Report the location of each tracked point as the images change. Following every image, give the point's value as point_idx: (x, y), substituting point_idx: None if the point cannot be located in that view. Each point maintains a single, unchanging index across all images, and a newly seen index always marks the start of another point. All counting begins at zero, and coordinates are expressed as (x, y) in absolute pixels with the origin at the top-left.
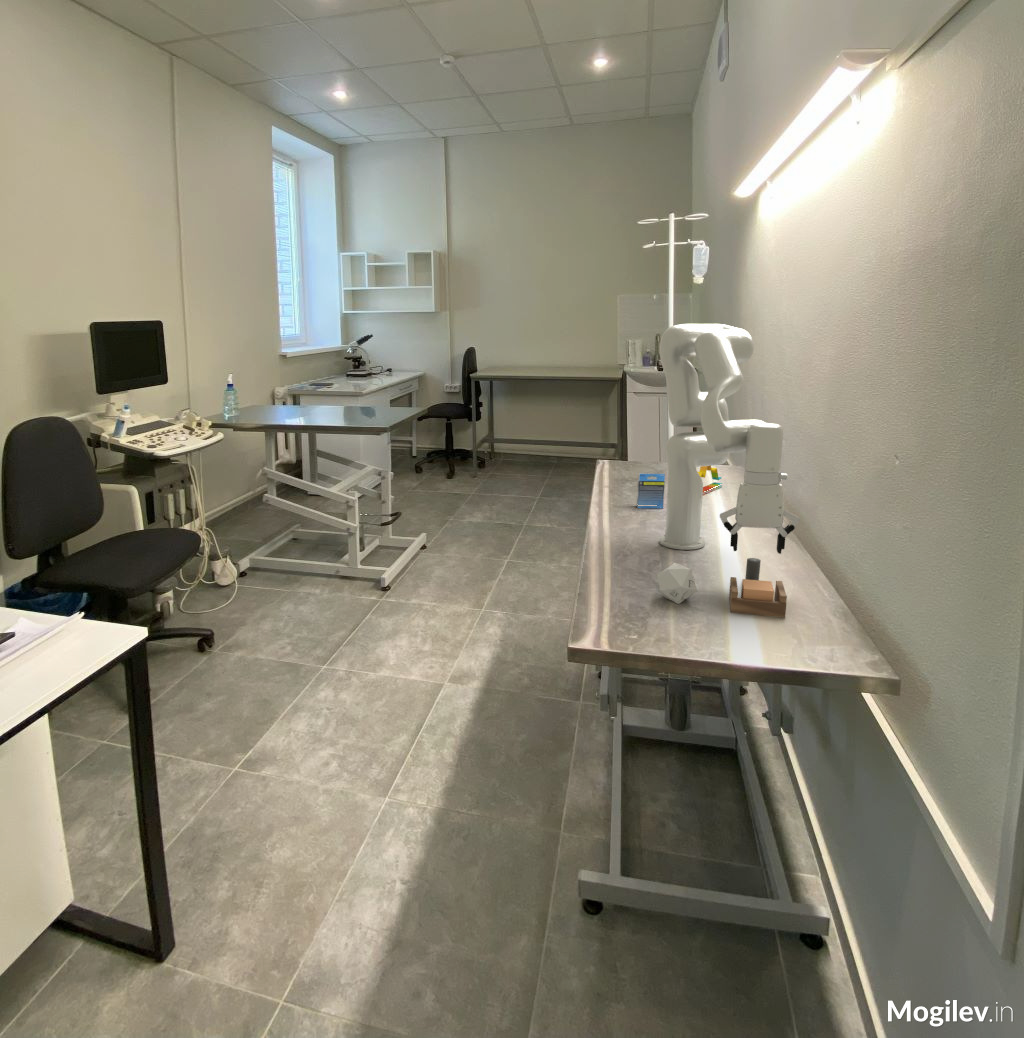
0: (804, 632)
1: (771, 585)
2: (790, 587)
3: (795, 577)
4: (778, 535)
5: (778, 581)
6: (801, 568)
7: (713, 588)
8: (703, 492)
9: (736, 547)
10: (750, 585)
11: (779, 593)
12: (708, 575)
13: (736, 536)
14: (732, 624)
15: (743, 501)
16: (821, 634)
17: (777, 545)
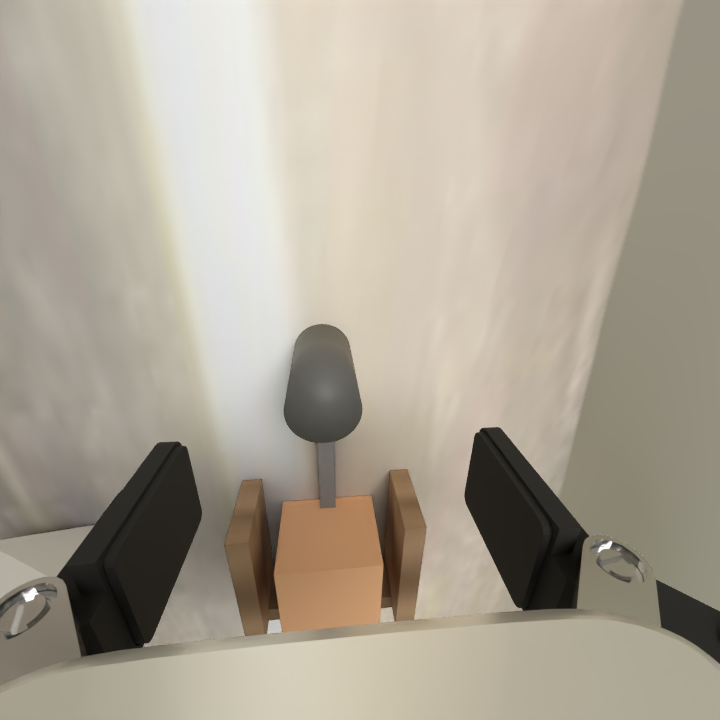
0: (426, 609)
1: (377, 593)
2: (472, 347)
3: (534, 207)
4: (536, 563)
5: (412, 533)
6: (627, 12)
7: (174, 434)
8: None
9: (188, 539)
10: (304, 612)
11: (396, 605)
12: (110, 285)
13: (140, 643)
14: (269, 623)
15: None
16: (459, 606)
17: (488, 486)
